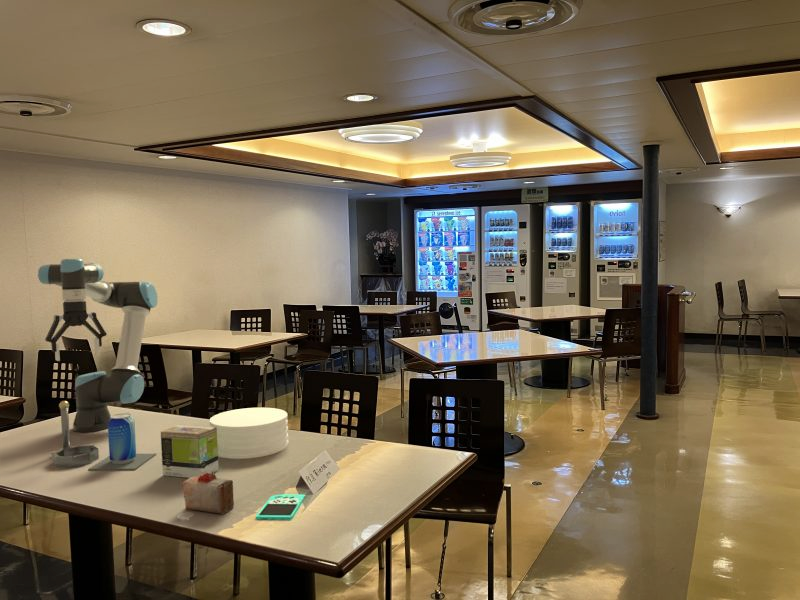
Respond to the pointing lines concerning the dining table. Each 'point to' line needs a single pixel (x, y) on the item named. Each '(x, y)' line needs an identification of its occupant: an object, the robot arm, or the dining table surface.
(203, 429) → the tea box
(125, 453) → the beer can
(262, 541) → the dining table surface
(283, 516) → the handheld game console
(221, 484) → the food item
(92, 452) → the ring stand
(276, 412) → the plate stack
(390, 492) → the dining table surface
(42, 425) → the dining table surface
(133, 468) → the rubber mat
